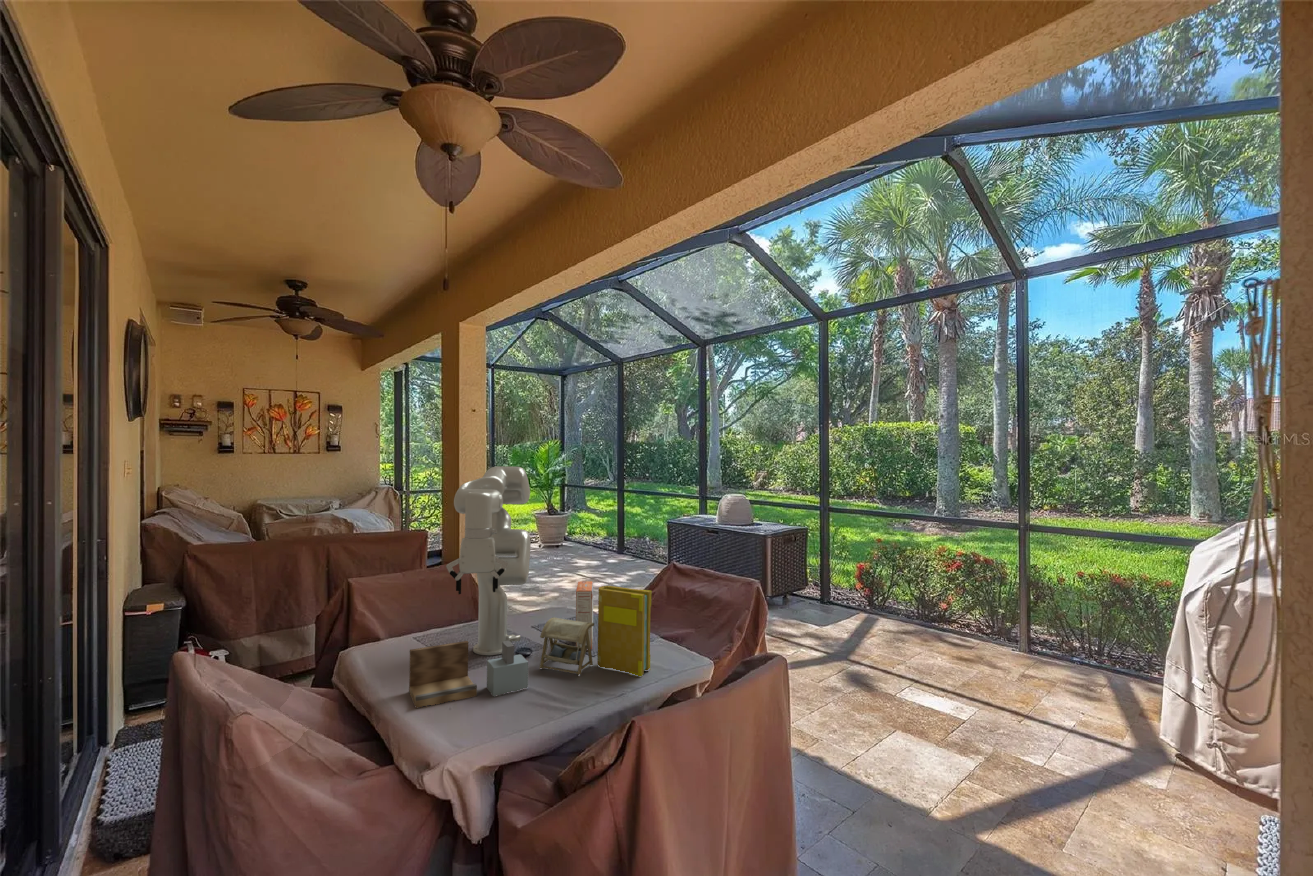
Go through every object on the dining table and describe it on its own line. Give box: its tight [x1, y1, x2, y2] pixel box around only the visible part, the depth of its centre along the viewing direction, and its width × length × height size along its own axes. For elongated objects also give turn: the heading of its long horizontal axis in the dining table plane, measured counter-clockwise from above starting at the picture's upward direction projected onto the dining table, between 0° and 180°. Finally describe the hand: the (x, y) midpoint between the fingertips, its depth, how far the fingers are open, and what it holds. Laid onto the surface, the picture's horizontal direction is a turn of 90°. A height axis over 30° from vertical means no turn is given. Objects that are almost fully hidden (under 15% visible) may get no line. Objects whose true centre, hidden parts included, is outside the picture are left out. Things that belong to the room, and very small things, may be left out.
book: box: [596, 585, 652, 677], centre depth 186 cm, size 17×7×25 cm, turn 65°
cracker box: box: [575, 580, 594, 650], centre depth 209 cm, size 14×6×21 cm, turn 5°
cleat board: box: [408, 640, 478, 709], centre depth 165 cm, size 16×12×12 cm
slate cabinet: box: [486, 641, 529, 697], centre depth 170 cm, size 10×7×13 cm
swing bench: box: [539, 617, 595, 675], centre depth 186 cm, size 15×10×15 cm, turn 70°
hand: (476, 592), depth 171 cm, fingers open, 9 cm apart
